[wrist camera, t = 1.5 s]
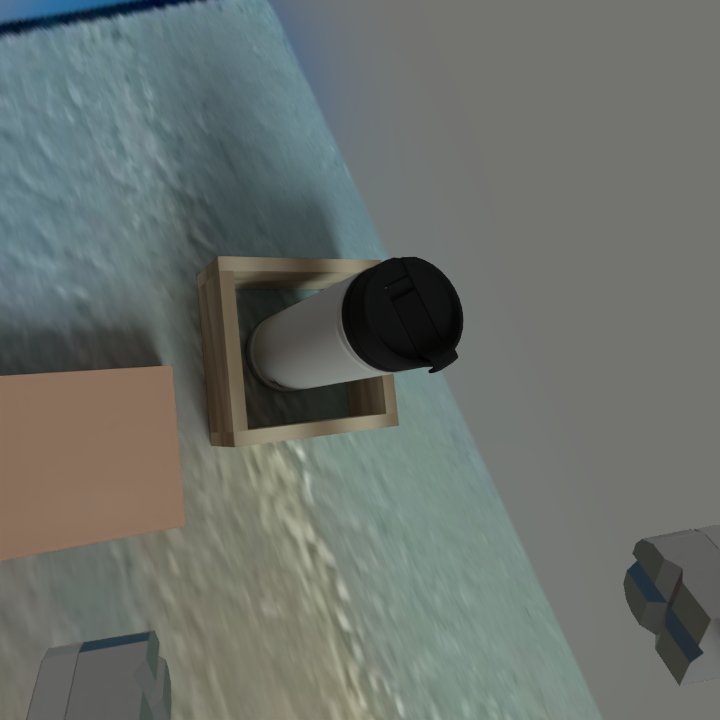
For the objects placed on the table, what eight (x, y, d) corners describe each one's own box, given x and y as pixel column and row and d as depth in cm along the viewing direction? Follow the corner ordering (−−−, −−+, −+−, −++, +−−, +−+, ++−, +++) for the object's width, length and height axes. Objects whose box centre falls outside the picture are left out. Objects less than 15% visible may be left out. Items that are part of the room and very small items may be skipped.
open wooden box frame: (211, 445, 45) (235, 447, 40) (196, 276, 46) (217, 256, 41) (361, 426, 52) (398, 425, 46) (345, 277, 53) (380, 260, 47)
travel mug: (269, 409, 48) (406, 394, 30) (231, 335, 47) (350, 275, 30) (331, 374, 51) (488, 342, 33) (297, 303, 50) (439, 233, 33)
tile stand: (-1, 553, 38) (-3, 561, 36) (-12, 380, 39) (-15, 376, 36) (176, 520, 44) (185, 525, 41) (163, 369, 44) (172, 365, 42)
